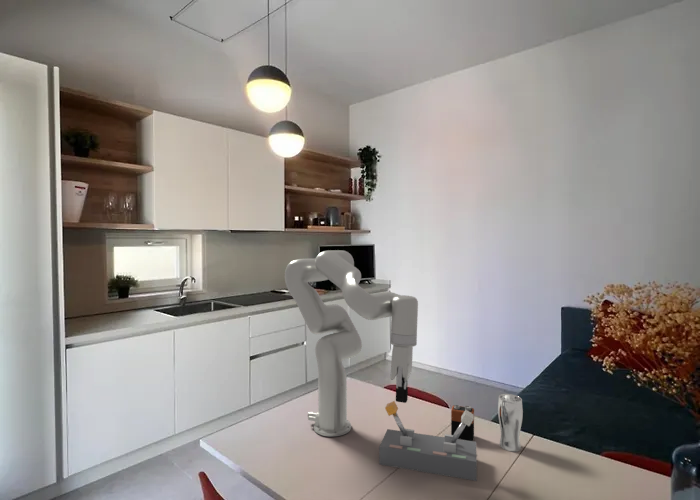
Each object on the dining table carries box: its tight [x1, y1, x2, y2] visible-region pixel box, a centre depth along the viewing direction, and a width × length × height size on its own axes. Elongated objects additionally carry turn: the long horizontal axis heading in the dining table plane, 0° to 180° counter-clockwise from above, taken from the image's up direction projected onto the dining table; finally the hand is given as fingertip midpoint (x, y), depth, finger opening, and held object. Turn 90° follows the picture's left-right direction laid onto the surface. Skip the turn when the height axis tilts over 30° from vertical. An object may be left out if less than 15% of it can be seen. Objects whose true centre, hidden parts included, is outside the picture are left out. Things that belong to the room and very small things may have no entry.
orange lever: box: [384, 400, 409, 437], centre depth 113 cm, size 2×3×11 cm
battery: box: [450, 404, 475, 441], centre depth 125 cm, size 4×7×10 cm, turn 69°
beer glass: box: [497, 393, 524, 453], centre depth 119 cm, size 7×7×15 cm
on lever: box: [449, 410, 475, 443], centre depth 108 cm, size 2×3×11 cm
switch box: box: [378, 428, 478, 482], centre depth 111 cm, size 26×11×7 cm, turn 73°
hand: (401, 401), depth 113 cm, fingers closed
